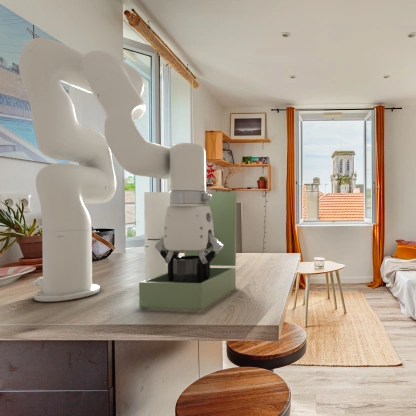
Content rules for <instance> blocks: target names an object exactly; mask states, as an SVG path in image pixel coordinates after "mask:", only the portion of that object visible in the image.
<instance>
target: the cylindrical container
mask: <svg viewBox="0 0 416 416" xmlns="http://www.w3.org/2000/svg"><path fill="white" fill-rule="evenodd" d="M143 195H144V196H143V197H144V199H143V201H144V208H143V209H144V211H143V213H144V215H143V216H144V217H143V218H144V281H145V280H148V279H150V278H153V277H156V276H159V275H162V274H165V273H168V263H166V262H165V259H164V258H163V257H162V256H161V254H160V252H159V251H158V250H157V249H156V248H155V244H156V243H157V242H158V241H159V240H160V239H161V238H162V237H163V236H164V224H165V216H166V211H167V207H168V206H170V191H169V192H168V191H145V192H144V194H143Z"/></svg>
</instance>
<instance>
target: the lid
mask: <svg viewBox="0 0 416 416" xmlns="http://www.w3.org/2000/svg"><path fill="white" fill-rule="evenodd" d="M207 194H208V195H211V197H212V199H211V200H210V201H207V203H206V206H210V209H211V214H212V219H213V227H214V237H215V238H216V239H217V240H218V241H219V242H221V243H222V244H223V248H222V249H221V250H220V251H219V253H217V255H216V256H215V257H214V258H213V259H212V261H211V262H210V266H211V267H236V266H237V192H236V191H224V192H223V191H220V192H219V191H217V192H213V191H212V192H211V191H210V192H209V191H208V192H207ZM213 248H214V247H213ZM213 248H211V249H208V250H209V252H211V251H212V249H213ZM191 255H192V256H193V255H196V256H199V255H198V253H197V251H183V256H191Z"/></svg>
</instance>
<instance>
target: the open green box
mask: <svg viewBox="0 0 416 416" xmlns="http://www.w3.org/2000/svg"><path fill="white" fill-rule="evenodd" d="M236 276H237V275H236V267H231V266H210V276H209V279H208V280H206V281H204V282H202V283H176V282H173V281H169V276H168V273H165V274H162V275H159V276H156V277H153V278H150V279H148V280H145V279H144V280H142V281H139V282H138V293H139V295H138V297H139V298H138V302H139V303H138V304H139V305H138V306H139V308H151V309H173V310H175V309H176V310H198V311H199V310H202V311H203V310H205V308H207V307H209V306H211V305H212V304H214V303H215V302H216V301H218V300H220V299H221V298H222V297H224V296H225V295H227V294H229V293H231V291H233V290H235V289H236V288H237V287H236V283H237V282H236Z"/></svg>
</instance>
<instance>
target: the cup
mask: <svg viewBox="0 0 416 416" xmlns="http://www.w3.org/2000/svg"><path fill="white" fill-rule="evenodd" d="M199 264H201V260H200V257H199V256H196V255H193V256H192V255H191V256H184V255H182V256H181V255H179V256H178V257H175V258H173V282H176V283H202V282H200V281H199Z"/></svg>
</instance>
